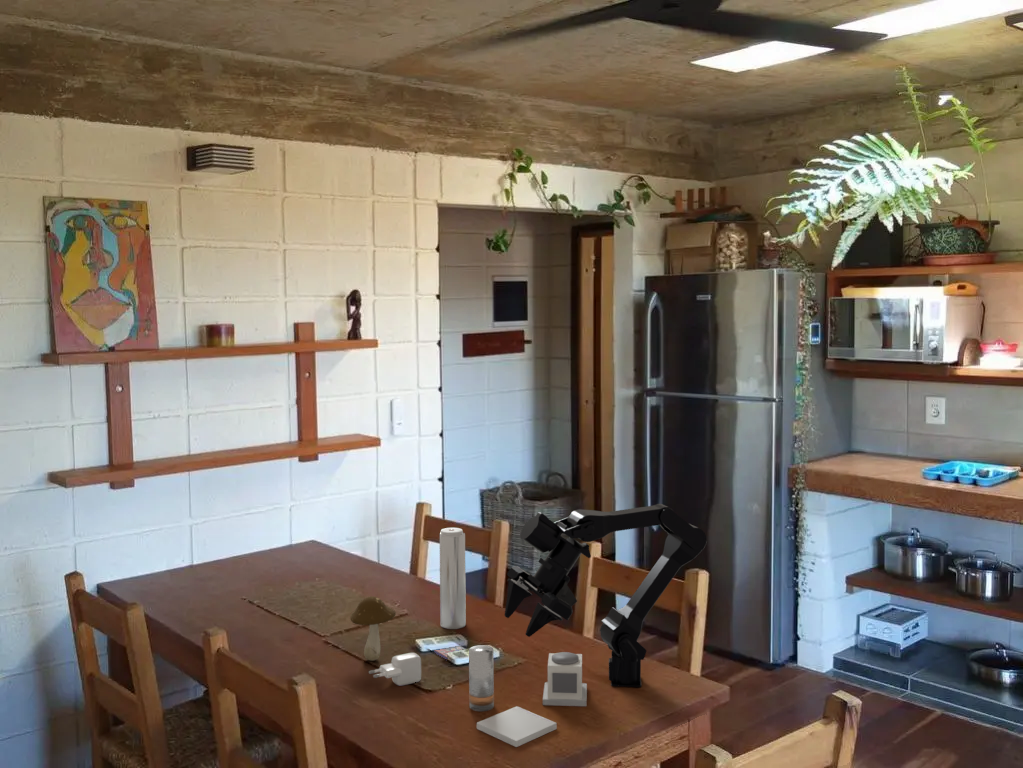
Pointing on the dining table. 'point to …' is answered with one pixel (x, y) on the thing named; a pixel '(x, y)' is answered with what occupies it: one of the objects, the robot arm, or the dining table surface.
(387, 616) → the mushroom
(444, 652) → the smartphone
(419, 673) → the power adapter
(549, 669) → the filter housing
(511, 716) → the grey flat square slab
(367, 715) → the dining table surface
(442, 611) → the white tall cylinder
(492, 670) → the cartridge
